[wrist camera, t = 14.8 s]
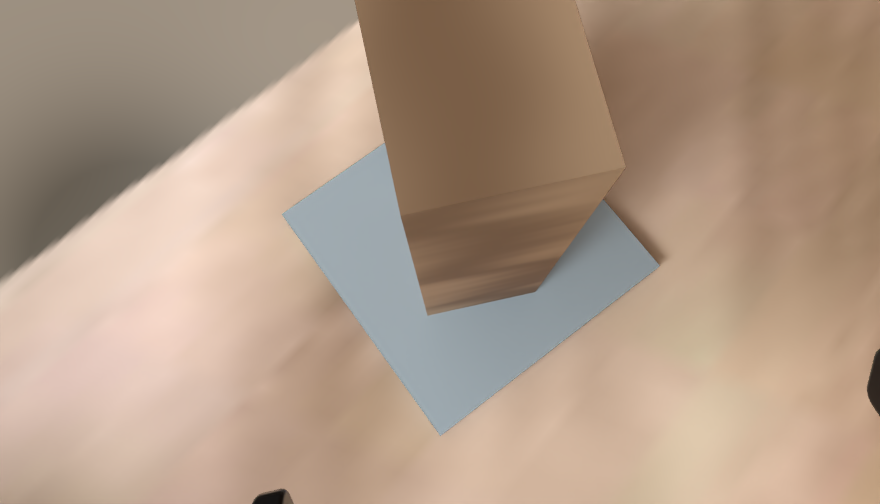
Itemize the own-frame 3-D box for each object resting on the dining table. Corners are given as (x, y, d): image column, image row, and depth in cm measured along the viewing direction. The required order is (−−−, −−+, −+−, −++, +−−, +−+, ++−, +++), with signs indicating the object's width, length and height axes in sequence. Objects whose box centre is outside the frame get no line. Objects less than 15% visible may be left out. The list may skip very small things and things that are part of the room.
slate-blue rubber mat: (655, 268, 24) (660, 265, 23) (440, 435, 23) (440, 435, 22) (491, 75, 26) (492, 68, 25) (285, 218, 25) (281, 214, 24)
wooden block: (502, 165, 24) (552, -73, 12) (535, 291, 23) (626, 166, 11) (400, 187, 24) (347, -31, 12) (427, 315, 23) (400, 215, 11)
